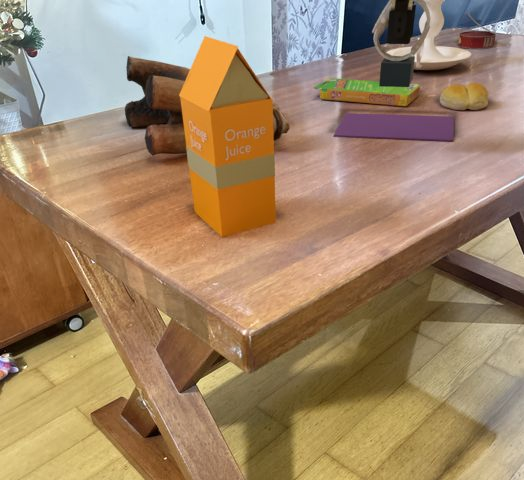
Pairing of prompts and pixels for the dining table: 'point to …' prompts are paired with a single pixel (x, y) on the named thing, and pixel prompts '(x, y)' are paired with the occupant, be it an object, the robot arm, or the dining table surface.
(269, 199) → the orange juice
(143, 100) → the stacked firewood logs
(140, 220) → the dining table surface
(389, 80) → the watch
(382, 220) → the dining table surface
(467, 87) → the bread roll
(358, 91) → the game box
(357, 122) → the cloth
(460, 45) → the canned food
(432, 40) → the candlestick
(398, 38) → the robot arm
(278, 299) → the dining table surface
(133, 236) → the dining table surface
